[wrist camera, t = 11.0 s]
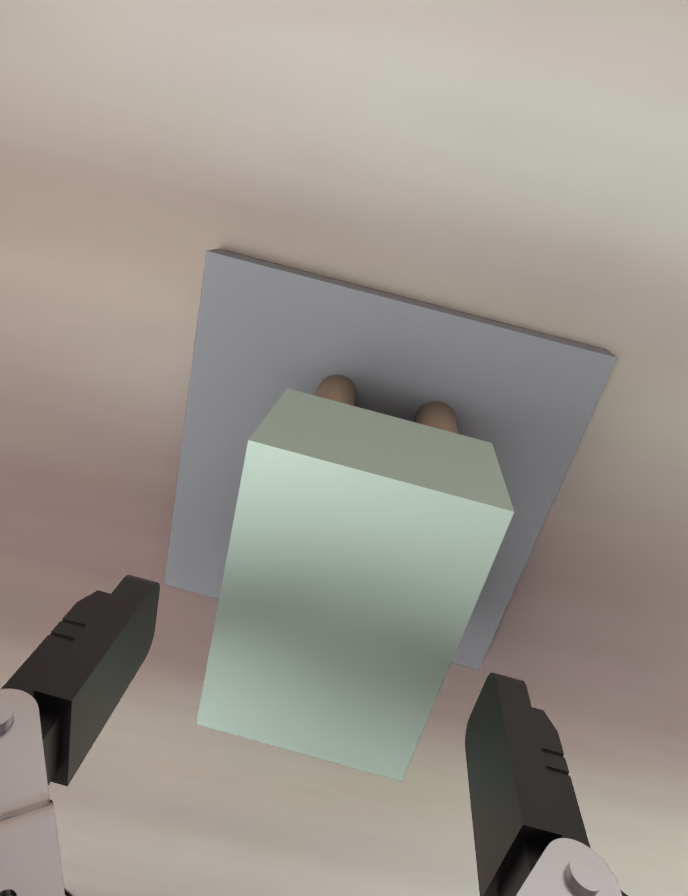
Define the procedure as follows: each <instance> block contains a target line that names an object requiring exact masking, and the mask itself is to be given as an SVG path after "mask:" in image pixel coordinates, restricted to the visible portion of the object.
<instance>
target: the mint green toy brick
mask: <svg viewBox="0 0 688 896" xmlns="http://www.w3.org/2000/svg"><path fill="white" fill-rule="evenodd" d="M356 398H357V390H356V387H355V385H354V383H353V382H352V381H351V380H350V379H349V378H347V377H345V376H343V375H331V376H328V377H326V378H325V379H324V380H323V381H322V382H321V384H320V385H319V387H318V389H317V390H316V392H315V394H314V395H311V394H307V393H303V392H300V391H296V390H292V389H288V388H287V389H286V390H285V392H284V393H283V394H282V396H281V397H280V398H279V400H278V401H277V402H276V404H275V405H274V406H273V408H272V409H271V410H270V412H269V413H268V414H267V416H266V417H265V418H264V420H263V421H262V422H261V424H260V425H259V426H258V428H257V429H256V430H255V432H254V433H253V434H252V436H251V437H250V438H249V440H248V444H247V450H246V455H245V461H244V466H243V472H242V477H241V482H240V488H239V493H238V499H237V504H236V510H235V515H234V521H233V526H232V531H231V537H230V542H229V548H228V553H227V559H226V564H225V570H224V575H223V581H222V586H221V591H220V597H219V602H218V608H217V613H216V619H215V624H214V630H213V635H212V640H211V646H210V651H209V657H208V662H207V668H206V673H205V679H204V684H203V689H202V695H201V700H200V706H199V711H198V717H197V722H196V724H197V725H201V726H204V727H208V728H211V729H215V730H219V731H222V732H226V733H229V734H233V735H236V736H240V737H244V738H247V739H251V740H254V741H258V742H261V743H265V744H269V745H272V746H276V747H279V748H283V749H286V750H290V751H294V752H297V753H301V754H304V755H308V756H311V757H315V758H319V759H322V760H326V761H329V762H333V763H336V764H340V765H344V766H347V767H351V768H354V769H358V770H362V771H365V772H369V773H372V774H376V775H379V776H383V777H387V778H390V779H394V780H397V781H402V779H403V777H404V774H405V772H406V769H407V767H408V765H409V762H410V760H411V758H412V755H413V753H414V750H415V748H416V746H417V743H418V741H419V738H420V736H421V734H422V731H423V729H424V726H425V724H426V722H427V719H428V717H429V715H430V712H431V710H432V707H433V705H434V703H435V700H436V698H437V695H438V693H439V691H440V688H441V686H442V683H443V681H444V679H445V676H446V674H447V672H448V669H449V667H450V664H451V662H452V660H453V657H454V655H455V652H456V650H457V648H458V645H459V643H460V640H461V638H462V636H463V633H464V631H465V629H466V626H467V624H468V621H469V619H470V617H471V614H472V612H473V609H474V607H475V605H476V602H477V600H478V597H479V595H480V593H481V590H482V588H483V586H484V583H485V581H486V578H487V576H488V574H489V571H490V569H491V566H492V564H493V562H494V559H495V557H496V555H497V552H498V550H499V547H500V545H501V543H502V540H503V538H504V535H505V533H506V531H507V528H508V526H509V523H510V521H511V519H512V516H513V514H514V509H513V506H512V503H511V500H510V497H509V494H508V491H507V488H506V485H505V482H504V478H503V475H502V472H501V469H500V466H499V463H498V460H497V457H496V454H495V451H494V448H493V445H492V443H490V442H486V441H482V440H479V439H475V438H471V437H468V436H464V435H460V434H458V430H457V425H456V419H455V414H454V412H453V410H452V409H451V407H450V406H448V405H447V404H446V403H443V402H440V401H431V402H428V403H426V404H424V405H423V406H421V407H420V409H419V410H418V412H417V414H416V418H415V422H412V421H408V420H404V419H400V418H397V417H393V416H389V415H385V414H382V413H378V412H374V411H371V410H367V409H363V408H359V407H356V406H354V404H355V401H356Z"/></svg>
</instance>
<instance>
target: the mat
mask: <svg viewBox="0 0 688 896" xmlns="http://www.w3.org/2000/svg"><path fill="white" fill-rule="evenodd" d="M616 359H617V357H615V356H614V355H613V354H611V353H610V352H608V351H607V350H605V349H601V348H597V347H593V346H590V345H586V344H582V343H578V342H574V341H570V340H566V339H563V338H559V337H555V336H551V335H547V334H543V333H540V332H536V331H532V330H528V329H524V328H520V327H516V326H513V325H509V324H505V323H501V322H497V321H493V320H490V319H486V318H482V317H478V316H474V315H470V314H466V313H463V312H459V311H455V310H451V309H447V308H443V307H440V306H436V305H432V304H428V303H424V302H420V301H416V300H413V299H409V298H405V297H401V296H397V295H393V294H390V293H386V292H382V291H378V290H374V289H370V288H366V287H363V286H359V285H355V284H351V283H347V282H343V281H340V280H336V279H332V278H328V277H324V276H320V275H316V274H313V273H309V272H305V271H301V270H297V269H293V268H290V267H286V266H282V265H278V264H274V263H270V262H266V261H263V260H259V259H255V258H251V257H247V256H243V255H240V254H236V253H232V252H228V251H224V250H220V249H215V250H209V251H206V258H205V266H204V274H203V282H202V290H201V298H200V306H199V313H198V321H197V329H196V337H195V345H194V353H193V361H192V368H191V376H190V384H189V392H188V400H187V408H186V416H185V423H184V431H183V439H182V447H181V455H180V463H179V471H178V478H177V486H176V494H175V502H174V510H173V518H172V526H171V533H170V541H169V549H168V557H167V565H166V573H165V581H164V584H165V585H169V586H172V587H176V588H180V589H183V590H187V591H191V592H194V593H198V594H202V595H205V596H209V597H213V598H216V599H219V597H220V591H221V586H222V581H223V575H224V570H225V564H226V559H227V553H228V548H229V542H230V537H231V531H232V526H233V521H234V515H235V510H236V504H237V499H238V493H239V488H240V482H241V477H242V472H243V466H244V461H245V455H246V450H247V444H248V440H249V438H250V437H251V436H252V434H253V433H254V432H255V430H256V429H257V428H258V426H259V425H260V424H261V422H262V421H263V420H264V418H265V417H266V416H267V414H268V413H269V412H270V410H271V409H272V408H273V406H274V405H275V404H276V402H277V401H278V400H279V398H280V397H281V396H282V394H283V393H284V392H285V390H286V389H287V388H288V389H292V390H296V391H300V392H303V393H307V394H311V395H314V394H315V392H316V390H317V389H318V387H319V385H320V384H321V382H322V381H323V380H324V379H325V378H326V377H328V376H331V375H343V376H345V377H347V378H349V379H350V380H351V381H352V382H353V383H354V385H355V387H356V390H357V398H356V401H355V404H354V406H356V407H359V408H363V409H367V410H371V411H374V412H378V413H382V414H385V415H389V416H393V417H397V418H400V419H404V420H408V421H412V422H415V418H416V414H417V412H418V410H419V409H420V407H421V406H423V405H424V404H426V403H428V402H431V401H440V402H443V403H446V404H447V405H448V406H450V407H451V409H452V410H453V412H454V414H455V419H456V425H457V430H458V434H460V435H464V436H468V437H471V438H475V439H479V440H482V441H486V442H490V443H492V445H493V448H494V451H495V454H496V457H497V460H498V463H499V466H500V469H501V472H502V475H503V478H504V482H505V485H506V488H507V491H508V494H509V497H510V500H511V503H512V506H513V509H514V514H513V516H512V519H511V521H510V523H509V526H508V528H507V531H506V533H505V535H504V538H503V540H502V543H501V545H500V547H499V550H498V552H497V555H496V557H495V559H494V562H493V564H492V566H491V569H490V571H489V574H488V576H487V578H486V581H485V583H484V586H483V588H482V590H481V593H480V595H479V597H478V600H477V602H476V605H475V607H474V609H473V612H472V614H471V617H470V619H469V621H468V624H467V626H466V629H465V631H464V633H463V636H462V638H461V640H460V643H459V645H458V648H457V650H456V652H455V655H454V657H453V660H452V662H451V663H455V664H459V665H462V666H466V667H470V668H473V669H477V670H479V669H480V666H481V664H482V662H483V660H484V657H485V655H486V653H487V651H488V648H489V646H490V644H491V642H492V639H493V637H494V635H495V633H496V630H497V628H498V626H499V624H500V621H501V619H502V617H503V614H504V612H505V610H506V608H507V605H508V603H509V601H510V599H511V596H512V594H513V592H514V590H515V587H516V585H517V583H518V581H519V578H520V576H521V574H522V572H523V569H524V567H525V565H526V563H527V560H528V558H529V556H530V554H531V551H532V549H533V547H534V545H535V542H536V540H537V538H538V535H539V533H540V531H541V529H542V526H543V524H544V522H545V520H546V517H547V515H548V513H549V511H550V508H551V506H552V504H553V502H554V499H555V497H556V495H557V493H558V490H559V488H560V486H561V484H562V481H563V479H564V477H565V475H566V472H567V470H568V468H569V466H570V463H571V461H572V459H573V456H574V454H575V452H576V450H577V447H578V445H579V443H580V441H581V438H582V436H583V434H584V432H585V429H586V427H587V425H588V423H589V420H590V418H591V416H592V414H593V411H594V409H595V407H596V405H597V402H598V400H599V398H600V396H601V393H602V391H603V389H604V387H605V384H606V382H607V380H608V377H609V375H610V373H611V371H612V368H613V366H614V364H615V362H616Z"/></svg>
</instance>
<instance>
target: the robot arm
mask: <svg viewBox="0 0 688 896" xmlns="http://www.w3.org/2000/svg"><path fill="white" fill-rule="evenodd" d="M159 591H160V585H159V583H157V582H154V581H150V580H146V579H142V578H139V577H135V576H131V575H127V576H126V577H124V579H123V580H122V581H121V582H120V583H119V585H118V586H117V587H116V588H115V590H114V591H113V592H112V593H111V594H109V593H106V592H102V591H96V592H94V593H93V594H91V595H89V596H87V597H85V598H84V599H82V600H80V601H78V602H77V603H76V604H75V605H74V606H73V607H72V609H71V610H70V611H69V612H68V613H67V614H66V615H65V617H64V618H63V620H62V622H59V623H58V625H57V626H56V627H55V628H54V629H53V630H52V631H51V634H50V635H48V636H47V637H46V638H45V639H44V641H43V642H42V643H41V644H40V645H39V646H38V647H37V649H36V650H35V651H34V652H33V653H32V654H31V655H30V657H29V658H28V659H27V660H26V661H25V662H24V663H23V665H22V666H21V667H20V668H19V669H18V670H17V671H16V673H15V674H14V675H13V676H12V677H11V678H10V679H9V681H8V682H7V683H6V684H5V685H4V686H3V687H2V688H1V689H0V896H66V895H65V892H64V884H63V875H62V867H61V859H60V851H59V843H58V835H57V827H56V819H55V811H54V806H53V802H52V800H50V798H49V791H48V785H49V784H50V782H54V783H58V784H62V785H65V786H68V785H69V783H70V781H71V780H72V778H73V776H74V775H75V773H76V771H77V770H78V768H79V766H80V765H81V763H82V762H83V760H84V758H85V757H86V755H87V753H88V752H89V750H90V748H91V747H92V745H93V743H94V742H95V740H96V739H97V737H98V735H99V734H100V732H101V730H102V729H103V727H104V725H105V724H106V722H107V720H108V719H109V717H110V716H111V714H112V712H113V711H114V709H115V707H116V706H117V704H118V702H119V701H120V699H121V697H122V696H123V694H124V693H125V691H126V689H127V688H128V686H129V684H130V683H131V681H132V679H133V678H134V676H135V674H136V673H137V671H138V670H139V668H140V666H141V665H142V663H143V661H144V660H145V658H146V656H147V654H148V651H149V649H150V646H151V643H152V640H153V637H154V631H155V624H156V615H157V607H158V599H159ZM465 749H466V759H467V770H468V780H469V790H470V800H471V810H472V820H473V830H474V840H475V850H476V861H477V871H478V881H479V891H480V896H627V895H626V894H625V893H624V892H622V891H621V890H620V887H619V884H618V882H617V879H616V878H615V876H614V874H613V872H612V871H611V869H610V868H609V866H608V865H607V864H606V863H605V861H604V860H603V859H602V858H601V857H600V856H599V855H598V854H597V853H596V852H594V851H593V850H592V849H591V848H590V845H589V842H588V838H587V835H586V831H585V827H584V824H583V820H582V817H581V813H580V810H579V806H578V803H577V799H576V795H575V792H574V788H573V785H572V781H571V778H570V776H568V773H569V771H568V767H567V763H566V760H565V758H563V755H564V753H563V749H562V746H561V742H560V739H559V735H558V732H557V730H556V729H555V727H554V726H553V724H552V723H551V721H550V720H549V718H548V717H547V715H546V714H545V712H544V711H543V710H540V709H536V708H532V707H531V703H530V699H529V695H528V691H527V687H526V684H525V682H524V681H522V680H518V679H514V678H510V677H507V676H503V675H499V674H495V673H490V674H489V676H488V677H487V679H486V681H485V684H484V686H483V688H482V690H481V693H480V695H479V697H478V699H477V702H476V704H475V706H474V708H473V711H472V713H471V715H470V718H469V721H468V724H467V729H466V736H465Z"/></svg>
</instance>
